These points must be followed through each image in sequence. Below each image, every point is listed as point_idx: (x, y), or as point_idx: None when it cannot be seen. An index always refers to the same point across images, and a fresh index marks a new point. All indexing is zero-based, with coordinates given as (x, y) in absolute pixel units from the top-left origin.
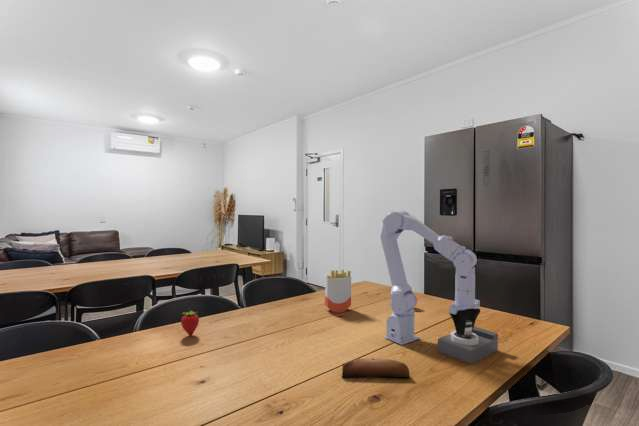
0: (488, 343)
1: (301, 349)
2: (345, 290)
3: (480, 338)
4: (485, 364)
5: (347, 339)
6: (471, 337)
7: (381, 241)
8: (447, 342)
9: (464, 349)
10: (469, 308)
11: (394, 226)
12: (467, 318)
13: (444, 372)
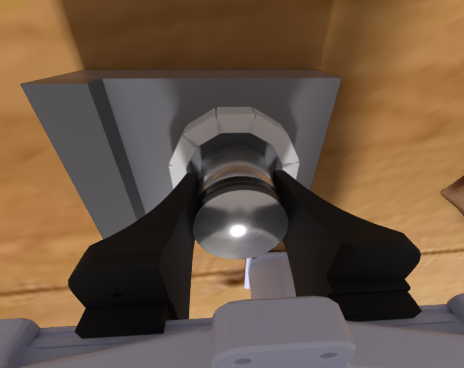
0: (160, 77)
1: (444, 301)
2: None
3: (150, 134)
4: (270, 25)
5: None
6: (231, 146)
7: None
8: (310, 187)
9: (328, 113)
10: (359, 326)
11: None
12: (189, 243)
13: (436, 96)
